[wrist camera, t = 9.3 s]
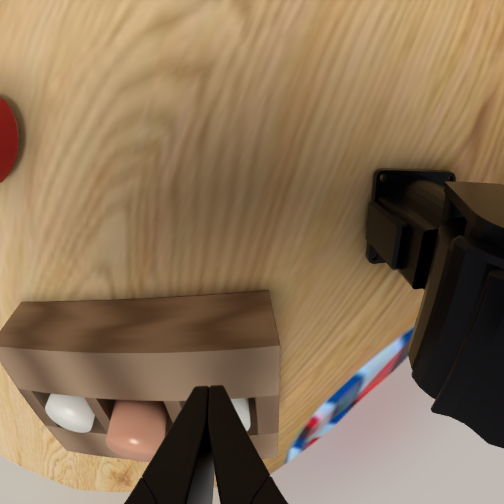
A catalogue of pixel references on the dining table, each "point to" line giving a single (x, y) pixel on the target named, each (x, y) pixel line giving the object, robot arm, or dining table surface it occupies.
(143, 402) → the terracotta plug
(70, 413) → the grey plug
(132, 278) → the dining table surface
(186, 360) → the walnut socket block
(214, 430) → the robot arm
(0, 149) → the beverage can
